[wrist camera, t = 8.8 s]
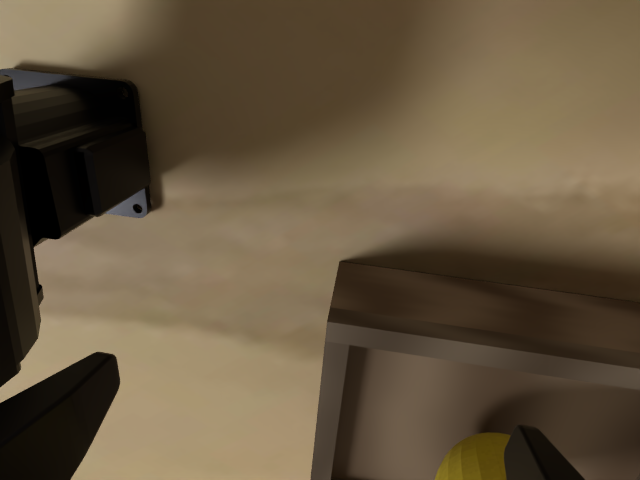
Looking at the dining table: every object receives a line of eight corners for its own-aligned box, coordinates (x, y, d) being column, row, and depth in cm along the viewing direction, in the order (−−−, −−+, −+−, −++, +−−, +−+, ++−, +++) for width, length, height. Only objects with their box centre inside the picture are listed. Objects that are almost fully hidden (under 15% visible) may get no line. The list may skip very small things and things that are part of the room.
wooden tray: (321, 425, 27) (308, 503, 22) (339, 261, 21) (327, 321, 17) (584, 471, 25) (626, 564, 21) (675, 307, 20) (759, 387, 15)
